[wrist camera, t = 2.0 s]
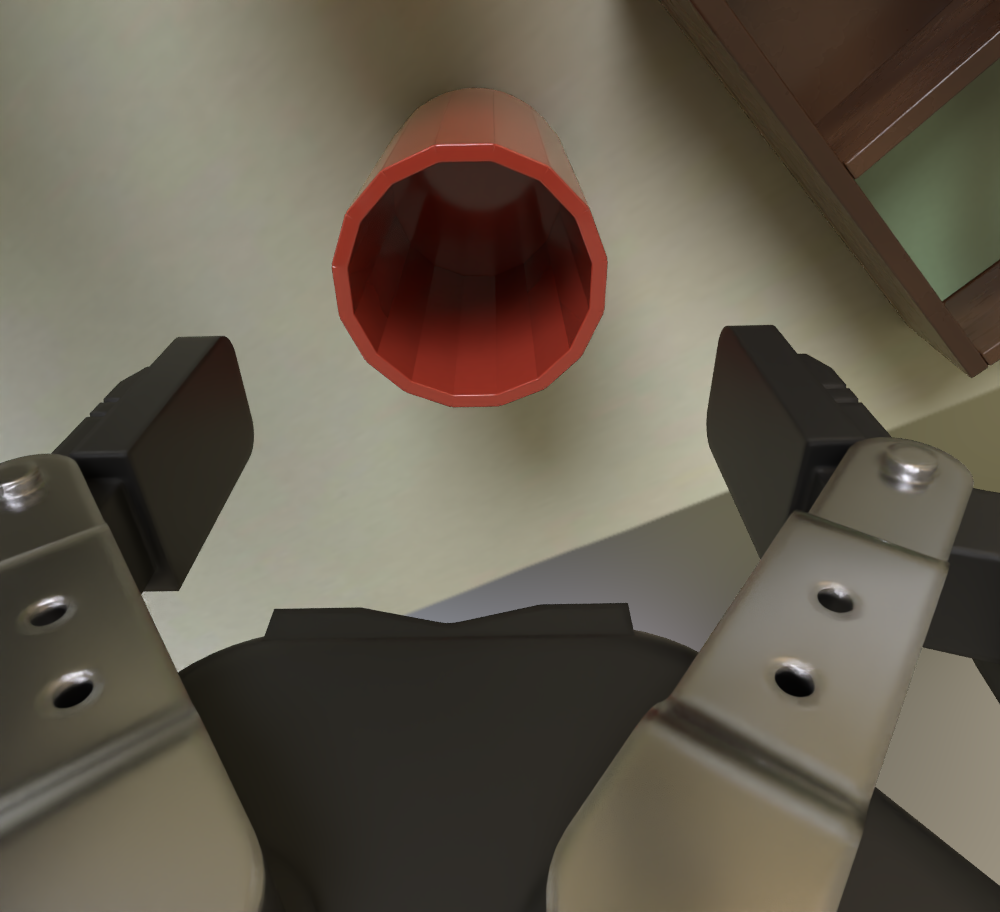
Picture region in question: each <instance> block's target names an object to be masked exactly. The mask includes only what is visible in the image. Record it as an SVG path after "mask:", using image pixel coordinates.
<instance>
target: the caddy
mask: <svg viewBox="0 0 1000 912" xmlns="http://www.w3.org/2000/svg"><path fill="white" fill-rule="evenodd" d="M659 1H660V2H661V3H662V5H663V6H664V7H665V9H666V10H667V11H668V13H669V14H670V15H671V17H672V18H673V19H674V20H675V22H676V23H677V24H678V26H679V27H680V28H681V30H682V31H683V32H684V34H685V35H686V36H687V37H688V39H689V40H690V41H691V43H692V44H693V45H694V47H695V48H696V49H697V51H698V52H699V53H700V54H701V56H702V57H703V58H704V60H705V61H706V62H707V64H708V65H709V66H710V68H711V69H712V70H713V71H714V73H715V74H716V75H717V77H718V78H719V79H720V81H721V82H722V83H723V84H724V86H725V87H726V88H727V90H728V91H729V92H730V94H731V95H732V96H733V98H734V99H735V100H736V101H737V103H738V104H739V105H740V107H741V108H742V109H743V111H744V112H745V113H746V115H747V116H748V117H749V118H750V120H751V121H752V122H753V124H754V125H755V126H756V128H757V129H758V130H759V132H760V133H761V134H762V135H763V137H764V138H765V139H766V141H767V142H768V143H769V145H770V146H771V147H772V149H773V150H774V151H775V152H776V154H777V155H778V156H779V158H780V159H781V160H782V162H783V163H784V164H785V166H786V167H787V168H788V169H789V171H790V172H791V173H792V175H793V176H794V177H795V179H796V180H797V181H798V183H799V184H800V185H801V186H802V188H803V189H804V190H805V192H806V193H807V194H808V196H809V197H810V198H811V199H812V201H813V202H814V203H815V205H816V206H817V207H818V209H819V210H820V211H821V213H822V214H823V215H824V216H825V218H826V219H827V220H828V222H829V223H830V224H831V226H832V227H833V228H834V230H835V231H836V232H837V233H838V235H839V236H840V237H841V239H842V240H843V241H844V243H845V244H846V245H847V247H848V248H849V249H850V250H851V252H852V253H853V254H854V256H855V257H856V258H857V260H858V261H859V262H860V264H861V265H862V266H863V267H864V269H865V270H866V271H867V273H868V274H869V275H870V277H871V278H872V279H873V281H874V282H875V283H876V284H877V286H878V287H879V288H880V290H881V291H882V292H883V294H884V295H885V296H886V298H887V299H888V300H889V301H890V303H891V304H892V305H893V307H894V308H895V309H896V311H897V312H898V313H899V314H900V316H901V317H902V318H903V320H904V321H905V322H906V324H907V325H908V326H909V327H910V328H911V329H912V330H913V331H915V332H916V333H917V334H918V335H919V336H921V337H922V338H923V339H924V340H925V341H927V342H928V343H929V344H930V345H932V346H933V347H934V348H935V349H936V350H938V351H939V352H940V353H941V354H942V355H944V356H945V357H946V358H947V359H948V360H950V361H951V362H952V363H953V364H955V365H956V366H957V367H958V368H959V369H961V370H962V371H963V372H964V373H965V374H967V375H968V376H969V377H971V378H973V377H975V376H976V375H978V374H979V373H980V372H982V371H983V370H985V369H986V368H988V365H992V364H994V363H995V362H997V361H998V360H1000V0H659Z"/></svg>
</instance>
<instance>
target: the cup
mask: <svg viewBox="0 0 1000 912" xmlns="http://www.w3.org/2000/svg"><path fill="white" fill-rule="evenodd" d="M607 264H608V261H607V256H606V253H605V250H604V247H603V245H602V242H601V239H600V236H599V233H598V231H597V228H596V225H595V222H594V219H593V217H592V214H591V211H590V208H589V206H588V204H587V202H586V199H585V197H584V195H583V192H582V190H581V188H580V185H579V183H578V181H577V179H576V176H575V174H574V172H573V169H572V167H571V165H570V162H569V160H568V158H567V155H566V153H565V151H564V149H563V146H562V144H561V142H560V139H559V137H558V136H557V134H556V133H555V132H554V131H553V130H552V128H551V127H550V126H549V124H548V123H547V122H546V121H545V119H544V118H543V117H542V116H541V115H540V114H539V113H538V112H537V111H536V110H534V109H533V108H532V107H531V106H530V105H528V104H526V103H525V102H524V101H522V100H520V99H518V98H516V97H514V96H512V95H510V94H507V93H504V92H501V91H498V90H493V89H488V88H463V89H458V90H454V91H450V92H447V93H444V94H442V95H439V96H437V97H435V98H433V99H432V100H430V101H428V102H426V103H425V104H424V105H422V106H421V107H419V108H418V109H416V110H415V111H414V113H413V114H412V115H411V116H410V117H409V118H408V119H407V120H406V122H405V123H404V125H403V126H402V127H401V129H400V130H399V131H398V132H397V133H396V135H395V136H394V137H393V138H392V140H391V142H390V143H389V145H388V146H387V148H386V150H385V151H384V153H383V154H382V156H381V157H380V159H379V161H378V162H377V164H376V165H375V167H374V169H373V170H372V172H371V173H370V175H369V177H368V178H367V180H366V181H365V183H364V185H363V186H362V188H361V189H360V191H359V192H358V194H357V196H356V197H355V199H354V200H353V202H352V204H351V205H350V207H349V208H348V210H347V212H346V214H345V216H344V220H343V223H342V227H341V231H340V235H339V238H338V242H337V246H336V250H335V253H334V257H333V261H332V273H333V280H334V286H335V293H336V299H337V306H338V312H339V316H340V319H341V321H342V323H343V324H344V326H345V328H346V329H347V331H348V333H349V334H350V336H351V338H352V339H353V341H354V343H355V344H356V346H357V348H358V349H359V351H360V353H361V354H362V356H363V358H364V359H365V360H366V361H367V363H369V364H370V365H371V366H372V367H374V368H375V369H376V370H378V371H379V372H380V373H381V374H383V375H384V376H385V377H386V378H388V379H389V380H390V381H392V382H393V383H394V384H395V385H397V386H398V387H399V388H400V389H402V390H403V391H405V392H407V393H410V394H413V395H416V396H419V397H422V398H425V399H428V400H431V401H434V402H437V403H440V404H443V405H446V406H449V407H451V406H452V407H492V406H502V405H505V404H507V403H510V402H513V401H515V400H518V399H520V398H523V397H526V396H528V395H531V394H533V393H536V392H539V391H541V390H544V389H545V388H547V387H548V386H549V385H550V384H551V383H552V382H554V381H555V380H556V379H557V378H558V377H559V376H560V375H561V374H563V373H564V372H565V371H566V370H567V369H568V368H569V367H570V366H572V365H573V364H574V363H575V362H576V361H577V360H578V359H579V358H581V356H582V355H583V353H584V351H585V349H586V347H587V345H588V343H589V341H590V339H591V337H592V335H593V333H594V331H595V329H596V327H597V325H598V323H599V321H600V319H601V317H602V315H603V313H604V312H603V311H604V309H605V294H606V279H607Z"/></svg>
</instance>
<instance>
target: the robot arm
mask: <svg viewBox="0 0 1000 912" xmlns="http://www.w3.org/2000/svg"><path fill="white" fill-rule="evenodd" d="M706 425H707V438H708V443H709V447H710V449H711V452H712V454H713V456H714V458H715V460H716V463H717V465H718V467H719V469H720V471H721V474H722V476H723V478H724V480H725V482H726V485H727V487H728V489H729V491H730V493H731V496H732V498H733V500H734V502H735V504H736V507H737V509H738V511H739V513H740V515H741V517H742V520H743V522H744V524H745V526H746V529H747V531H748V533H749V535H750V537H751V540H752V542H753V544H754V546H755V548H756V551H757V553H758V555H759V557H760V559H761V560H760V561H759V563H758V564H757V566H756V567H755V569H754V570H753V572H752V573H751V575H750V576H749V578H748V579H747V581H746V582H745V584H744V585H743V587H742V588H741V590H740V591H739V593H738V594H737V596H736V597H735V599H734V600H733V602H732V604H731V605H730V607H729V608H728V609H727V611H726V613H725V614H724V615H723V617H722V619H721V620H720V621H719V623H718V624H717V626H716V628H715V629H714V631H713V632H712V633H711V635H710V636H709V638H708V640H707V641H706V643H705V644H704V646H703V647H702V649H701V650H700V652H697V651H695V650H693V649H691V648H689V647H687V646H685V645H682V644H680V643H677V642H675V641H672V640H669V639H667V638H664V637H660V636H657V635H653V634H649V633H646V632H641V631H636V630H633V626H632V622H631V616H630V612H629V607H628V603H603V604H548V605H547V604H543V605H536V606H532V607H527V608H522V609H517V610H513V611H508V612H503V613H499V614H494V615H489V616H485V617H480V618H476V619H471V620H466V621H461V622H456V623H441V622H435V621H430V620H424V619H418V618H413V617H408V616H403V615H398V614H392V613H387V612H382V611H376V610H371V609H366V608H306V609H274V611H273V614H272V617H271V620H270V622H269V625H268V628H267V631H266V634H265V636H264V637H260V638H256V639H252V640H249V641H245V642H242V643H239V644H236V645H233V646H230V647H228V648H225V649H223V650H220V651H218V652H215V653H213V654H211V655H209V656H207V657H205V658H203V659H201V660H199V661H197V662H195V663H193V664H191V665H189V666H188V667H186V668H184V669H183V670H181V671H180V672H177V670H176V668H175V666H174V664H173V662H172V659H171V657H170V655H169V653H168V651H167V649H166V647H165V645H164V643H163V640H162V638H161V636H160V634H159V632H158V630H157V628H156V626H155V623H154V621H153V619H152V617H151V615H150V613H149V611H148V609H147V606H146V604H145V602H144V600H143V598H142V596H141V594H142V593H143V592H145V591H179V589H180V588H181V586H182V584H183V582H184V580H185V578H186V576H187V574H188V573H189V571H190V569H191V567H192V565H193V563H194V561H195V559H196V558H197V556H198V554H199V552H200V550H201V548H202V546H203V544H204V542H205V541H206V539H207V537H208V535H209V533H210V531H211V529H212V527H213V526H214V524H215V522H216V520H217V518H218V516H219V514H220V512H221V510H222V509H223V507H224V505H225V503H226V501H227V499H228V497H229V495H230V494H231V492H232V490H233V488H234V486H235V484H236V482H237V480H238V479H239V477H240V475H241V473H242V471H243V469H244V467H245V465H246V463H247V462H248V460H249V458H250V456H251V453H252V449H253V442H254V429H253V421H252V417H251V413H250V409H249V405H248V401H247V397H246V393H245V389H244V385H243V381H242V377H241V373H240V369H239V365H238V361H237V357H236V353H235V350H234V347H233V345H232V343H231V341H230V340H229V339H228V338H227V337H225V336H202V337H178V338H176V339H175V340H174V341H173V342H172V343H171V344H170V345H169V346H168V347H167V348H166V349H165V350H164V351H163V353H162V354H161V355H160V356H159V357H158V358H157V359H156V360H155V361H154V362H153V363H152V364H151V366H150V367H146V368H144V369H142V370H141V371H139V372H137V373H135V374H133V375H132V376H130V377H128V378H126V379H125V380H123V381H121V382H120V383H119V384H118V385H117V386H116V387H115V388H114V389H113V390H112V391H111V392H110V393H109V394H108V395H107V396H106V397H105V398H104V403H99V404H98V405H97V406H96V408H95V409H94V410H93V411H92V412H91V413H90V417H86V418H85V419H84V420H83V421H82V422H81V423H80V424H79V425H78V426H77V427H76V428H75V429H74V430H73V431H72V432H71V434H70V435H69V436H68V437H67V438H66V439H65V440H64V441H63V442H62V443H61V444H60V445H59V446H58V447H57V448H56V449H55V450H54V451H53V452H52V453H51V454H36V455H29V456H24V457H19V458H15V459H12V460H8V461H5V462H3V463H0V912H1000V886H999V885H998V884H997V883H995V882H994V881H993V880H991V879H990V878H989V877H988V876H987V875H985V874H984V873H983V872H982V871H980V870H979V869H978V868H977V867H975V866H974V865H973V864H972V863H970V862H969V861H968V860H966V859H965V858H964V857H963V856H961V855H960V854H959V853H958V852H956V851H955V850H954V849H953V848H951V847H950V846H949V845H948V844H946V843H945V842H944V841H943V840H941V839H940V838H939V837H938V836H936V835H935V834H934V833H933V832H931V831H930V830H929V829H927V828H926V827H925V826H924V825H923V824H921V823H920V822H918V820H916V819H915V818H914V817H913V816H911V815H910V814H909V813H908V812H906V811H905V810H904V809H902V808H901V807H900V806H899V805H897V804H896V803H895V802H894V801H892V800H891V799H890V798H889V797H887V796H886V795H885V794H883V793H882V792H881V791H880V790H879V789H877V788H876V787H875V785H876V782H877V779H878V777H879V774H880V770H881V767H882V765H883V762H884V759H885V756H886V753H887V750H888V747H889V744H890V741H891V738H892V735H893V732H894V729H895V726H896V723H897V721H898V718H899V715H900V712H901V709H902V706H903V703H904V700H905V697H906V694H907V691H908V688H909V685H910V682H911V679H912V676H913V673H914V670H915V668H916V665H917V661H918V659H919V656H920V653H921V650H922V647H924V648H928V649H933V650H937V651H942V652H946V653H951V654H955V655H959V656H964V657H969V658H972V659H973V661H974V663H975V665H976V666H977V668H978V670H979V671H980V673H981V674H982V676H983V678H984V679H985V681H986V683H987V684H988V686H989V687H990V689H991V691H992V692H993V694H994V695H995V697H996V699H997V700H998V702H999V703H1000V493H997V492H991V491H985V490H980V489H975V488H973V484H974V481H973V476H972V474H971V473H970V471H969V470H968V469H967V467H966V466H965V465H964V464H962V463H961V462H960V461H959V460H958V459H956V458H954V457H953V456H951V455H950V454H948V453H946V452H944V451H942V450H940V449H938V448H935V447H932V446H930V445H927V444H924V443H920V442H917V441H913V440H908V439H902V438H892V437H891V436H890V435H889V433H888V432H887V431H886V430H885V429H884V428H883V427H882V425H881V424H880V423H879V422H878V421H877V420H876V419H875V417H874V416H873V415H872V414H871V413H870V412H869V410H868V409H867V408H866V407H865V406H864V405H863V404H862V403H858V398H857V397H856V396H855V394H854V393H853V392H852V391H851V390H850V389H849V388H846V384H845V383H844V382H843V381H842V379H841V378H840V377H839V376H838V375H837V374H836V373H835V371H834V370H833V369H832V368H831V367H829V366H827V365H825V364H823V363H822V362H820V361H818V360H816V359H814V358H813V357H811V356H809V355H807V354H797V353H796V352H795V350H794V349H793V348H792V347H791V345H790V344H789V343H788V342H787V340H786V339H785V338H784V337H783V336H782V334H781V333H780V332H779V331H778V329H777V328H776V327H775V326H773V325H746V326H725V327H724V328H723V330H722V332H721V334H720V337H719V341H718V347H717V353H716V359H715V366H714V372H713V378H712V385H711V391H710V397H709V403H708V410H707V423H706Z"/></svg>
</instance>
